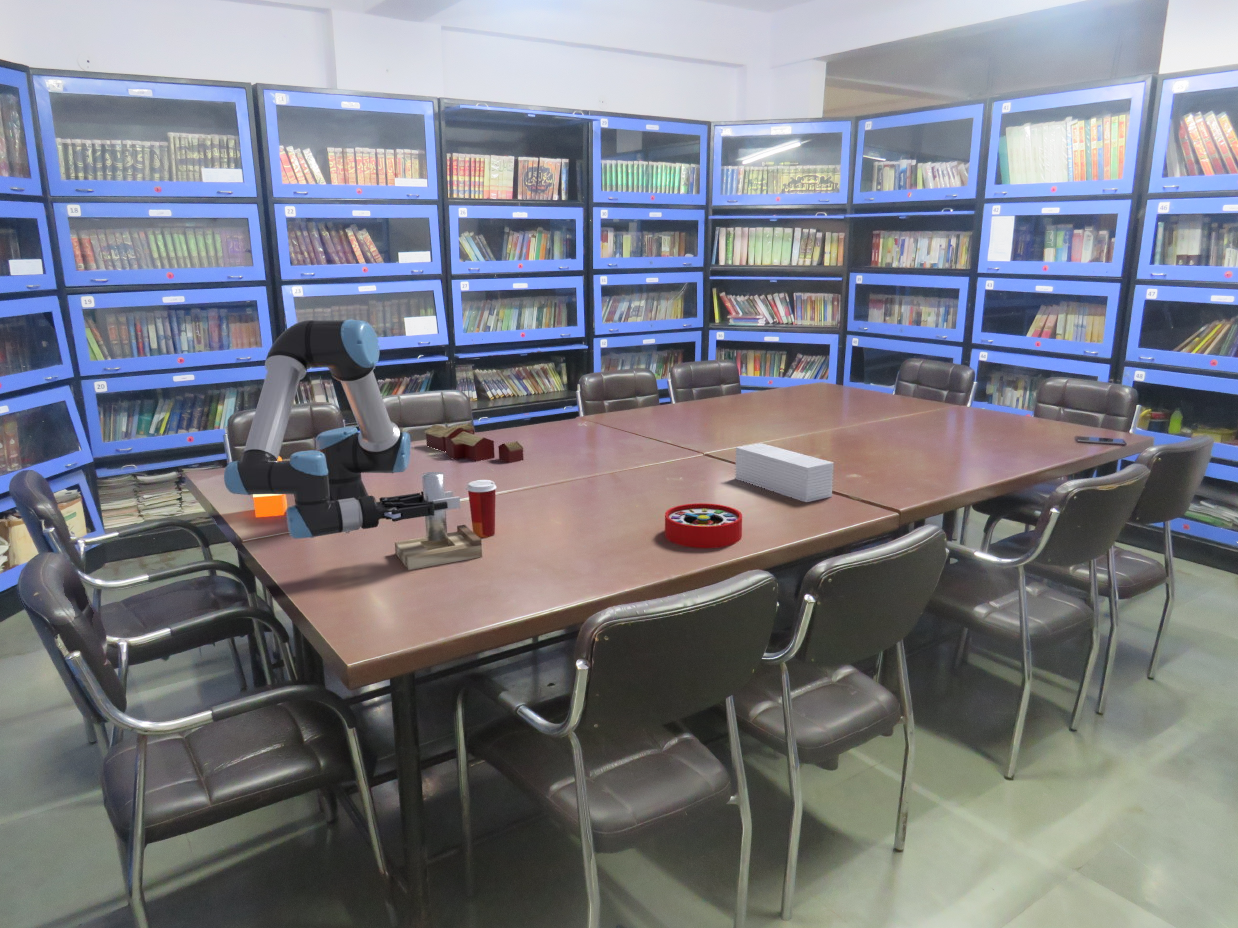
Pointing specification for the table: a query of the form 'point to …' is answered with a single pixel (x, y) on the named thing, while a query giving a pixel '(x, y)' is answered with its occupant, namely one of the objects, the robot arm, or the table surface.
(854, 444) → the table surface
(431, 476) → the brushed metal cylinder
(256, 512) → the orange juice
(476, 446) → the toy houses
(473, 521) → the paper cup
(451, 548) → the frame
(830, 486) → the stack of papers
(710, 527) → the toy clock
